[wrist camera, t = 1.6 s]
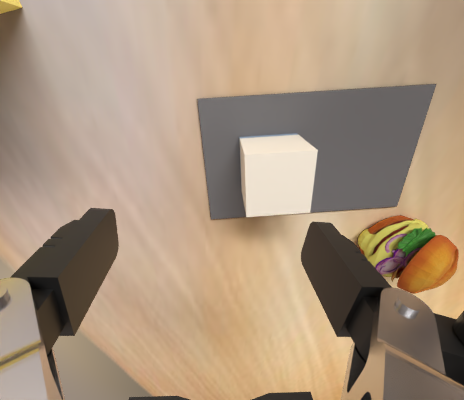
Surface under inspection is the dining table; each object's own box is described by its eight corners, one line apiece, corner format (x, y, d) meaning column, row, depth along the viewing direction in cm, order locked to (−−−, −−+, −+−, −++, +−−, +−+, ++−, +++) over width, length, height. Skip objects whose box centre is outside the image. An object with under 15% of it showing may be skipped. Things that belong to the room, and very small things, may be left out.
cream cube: (296, 133, 29) (317, 150, 23) (292, 185, 32) (310, 212, 26) (239, 137, 29) (244, 155, 23) (241, 189, 32) (246, 217, 26)
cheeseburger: (369, 205, 35) (438, 251, 26) (419, 206, 38) (494, 246, 30) (342, 259, 39) (394, 312, 31) (389, 255, 43) (447, 301, 34)
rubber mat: (434, 84, 27) (436, 84, 27) (395, 205, 35) (396, 206, 35) (197, 98, 27) (197, 99, 27) (211, 218, 34) (211, 219, 34)
